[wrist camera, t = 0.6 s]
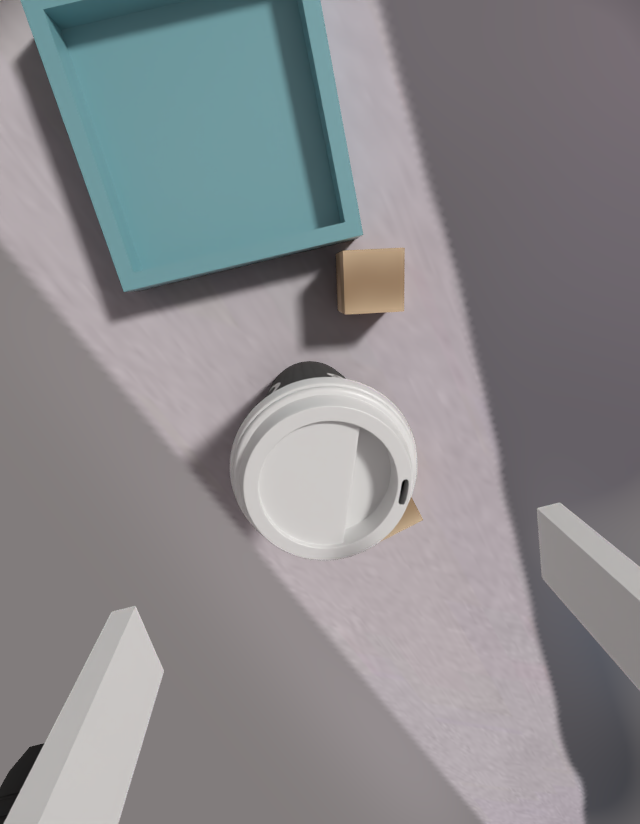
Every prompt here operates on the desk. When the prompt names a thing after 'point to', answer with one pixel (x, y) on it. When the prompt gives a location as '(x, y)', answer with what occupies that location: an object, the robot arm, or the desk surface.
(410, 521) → the maple block
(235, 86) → the tray
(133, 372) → the desk surface
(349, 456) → the coffee cup
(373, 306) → the maple block
